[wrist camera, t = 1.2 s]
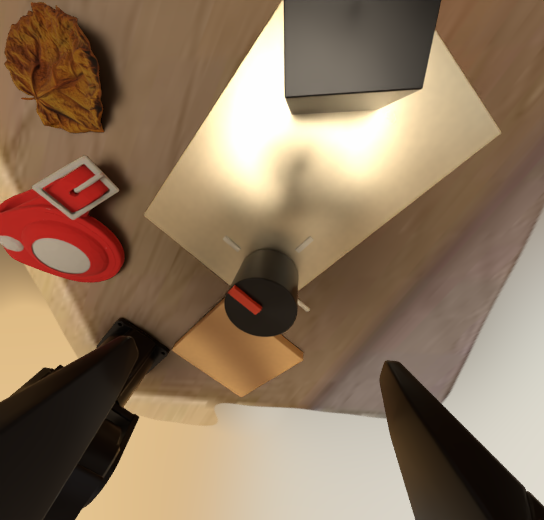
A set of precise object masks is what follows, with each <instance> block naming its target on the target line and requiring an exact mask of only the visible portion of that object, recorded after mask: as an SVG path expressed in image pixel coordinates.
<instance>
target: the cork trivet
mask: <svg viewBox="0 0 544 520" xmlns="http://www.w3.org/2000/svg"><path fill="white" fill-rule="evenodd" d="M224 299H225V298H224ZM224 299H223V300H222V301H221V302H219V303H218V304H217V305H216V306H215V307H214V308H213V309H212V310H211V311H210V312H209V313H208V314H207V315H205V316H204V317H203V318H202V319H201V320H200V321H199V322H198V323H197V324H196V325H195V326H194V327H193V328H191V329H190V330H189V331H188V332H187V333H186V334H185V335H184V336H183V337H182V338H181V339H180V340H179V341H177V342H176V343H175V345H174V346H173V348H172V351H173V352H175V353H176V354H178V355H179V356H181V357H182V358H184V359H185V360H187V361H188V362H190V363H191V364H193V365H194V366H196V367H197V368H198V369H200V370H201V371H203V372H204V373H206V374H207V375H209V376H210V377H212V378H213V379H215V380H216V381H218V382H219V383H221V384H222V385H224V386H225V387H227V388H228V389H230V390H231V391H232V392H234V393H235V394H237V395H238V396H240V397H243V396H245V395H246V394H248V393H250V392H251V391H253V390H255V389H256V388H258V387H260V386H261V385H263V384H264V383H266V382H268V381H269V380H271V379H273V378H274V377H276V376H278V375H279V374H281V373H283V372H284V371H286V370H288V369H289V368H291V367H293V366H294V365H296V364H298V363H299V362H301V361H303V352H302V351H301V350H299V349H298V348H297V347H296V346H294V345H293V344H292V343H291V342H289V341H288V340H287V339H286V338H284V337H283V336H282V335H281V334H279V335H276V336H272V337H258V336H253V335H250V334H247V333H245V332H243V331H241V330H240V329H238V328H237V327H236V326H235V325H234V324H233V323H232V322H231V321H230V320H229V318H228V316H227V314H226V312H225V307H224Z"/></svg>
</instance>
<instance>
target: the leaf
mask: <svg viewBox="0 0 544 520" xmlns="http://www.w3.org/2000/svg"><path fill="white" fill-rule="evenodd" d="M31 7H32V10H33V12H32V11H28V13H27V15H26V16H23V17H21V18H20V20H19V21H18V23H17V24H12V25H11V29H10V31H9V33H8V37H7V42H6V48H5V55H6V58H7V61H6V62H5V66H6V68H7V69H8V70H9V71H10V75H11V78H12V80H13V82H14V84H15V85H16V87H17V88H18V89H19V90H21V91H23V92H24V93H26V94H28V95H32V96H34V98H21V99H25V100H32V99H35V100H36V102H37V109H36V110H37V113H38V115H39V116H40V118H41V120H42V122H43V124H44V125H46V126H51V127H55V128H62V129H64V130H66V131H68V132H70V133H79V132H88V131H93V132H104V131H103V129H102V124H101V122H100V121H101V115H102V112H103V106H102V103H101V100H100V97H101V95H102V94H101V85H100V80H99V70H100V69H99V65H98V61H97V59H96V57H95V56H94V54H93V53H92V51H91V48H90V42H89V40H88V39H87V38H86V36H85V35H84V33H83V32H82V31H81V29H80V28H79V26H78V25H77V18H76V17H74V16H73V17H72V16H70V15H67V14H66V13H64V12H63V11H62V10H61V9H60V8H58V7H57V6H56V10H55V9H53V8H52V7H50V6H47V5H46V4H45V3H44V2H43V3H42V2H38V3H33V2H31Z"/></svg>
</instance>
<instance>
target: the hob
mask: <svg viewBox="0 0 544 520" xmlns="http://www.w3.org/2000/svg"><path fill="white" fill-rule="evenodd" d="M500 134H501V131H500V129H499V128H498V126H497V124H496V123H495V121H494V120H493V118H492V117H491V115H490V114H489V112H488V110H487V109H486V107H485V106H484V104H483V103H482V101H481V100H480V98H479V97H478V95H477V93H476V92H475V90H474V89H473V87H472V86H471V84H470V83H469V81H468V79H467V78H466V76H465V75H464V73H463V72H462V70H461V69H460V67H459V65H458V64H457V62H456V61H455V59H454V58H453V56H452V55H451V53H450V51H449V50H448V48H447V47H446V45H445V44H444V42H443V41H442V39H441V37H440V36H439V34H438V33H437V31H436V30H435V32H434V37H433V41H432V46H431V51H430V56H429V60H428V65H427V70H426V75H425V79H424V84H423V88H422V89H421V90H419V91H417V92H414V93H412V94H410V95H408V96H406V97H404V98H402V99H400V100H398V101H395V102H393V103H391V104H389V105H387V106H385V107H383V108H381V109H379V110H368V111H351V112H333V113H315V114H298V115H291V112H290V110H289V107H288V105H287V102H286V100H285V97H284V0H282V1H281V2H280V4H279V5H278V7H277V8H276V10H275V11H274V13H273V15H272V16H271V18H270V19H269V21H268V22H267V24H266V25H265V27H264V28H263V30H262V32H261V33H260V35H259V36H258V38H257V39H256V41H255V42H254V44H253V46H252V47H251V49H250V50H249V52H248V53H247V55H246V56H245V58H244V60H243V61H242V63H241V64H240V66H239V67H238V69H237V70H236V72H235V73H234V75H233V77H232V78H231V80H230V81H229V83H228V84H227V86H226V87H225V89H224V91H223V92H222V94H221V95H220V97H219V98H218V100H217V101H216V103H215V105H214V106H213V108H212V109H211V111H210V112H209V114H208V115H207V117H206V118H205V120H204V122H203V123H202V125H201V126H200V128H199V129H198V131H197V132H196V134H195V136H194V137H193V139H192V140H191V142H190V143H189V145H188V146H187V148H186V150H185V151H184V153H183V154H182V156H181V157H180V159H179V160H178V162H177V163H176V165H175V167H174V168H173V170H172V171H171V173H170V174H169V176H168V177H167V179H166V181H165V182H164V184H163V185H162V187H161V188H160V190H159V191H158V193H157V195H156V196H155V198H154V199H153V201H152V202H151V204H150V205H149V207H148V208H147V210H146V212H145V213H144V216H145V217H146V218H147V219H148V220H150V221H151V222H152V223H153V224H155V225H156V226H157V227H158V228H159V229H161V230H162V231H163V232H164V233H166V234H167V235H168V236H169V237H171V238H172V239H173V240H174V241H176V242H177V243H178V244H179V245H180V246H182V247H183V248H184V249H185V250H187V251H188V252H189V253H190V254H192V255H193V256H194V257H195V258H196V259H198V260H199V261H200V262H201V263H203V264H204V265H205V266H206V267H208V268H209V269H210V270H211V271H213V272H214V273H215V274H216V275H217V276H219V277H220V278H221V279H222V280H224V281H225V282H226V283H227V284H229V285H231V284H232V282H233V280H234V278H235V276H236V274H237V272H238V270H239V268H240V266H241V264H242V262H243V261H244V259H245V258H246V257H247V256H248V255H250V254H251V253H253V252H255V251H258V250H263V249H271V250H276V251H279V252H281V253H283V254H285V255H287V256H288V257H289V258H290V259H291V260H292V261H293V262H294V264H295V265H296V267H297V270H298V276H299V279H298V291H299V290H300V289H302V288H303V287H304V286H305V285H307V284H308V283H309V282H311V281H312V280H313V279H314V278H316V277H317V276H318V275H320V274H321V273H322V272H323V271H325V270H326V269H327V268H329V267H330V266H331V265H332V264H334V263H335V262H336V261H338V260H339V259H340V258H341V257H343V256H344V255H345V254H347V253H348V252H349V251H350V250H352V249H353V248H354V247H356V246H357V245H358V244H359V243H361V242H362V241H363V240H365V239H366V238H367V237H368V236H370V235H371V234H372V233H374V232H375V231H376V230H377V229H379V228H380V227H381V226H383V225H384V224H385V223H386V222H388V221H389V220H390V219H392V218H393V217H394V216H395V215H397V214H398V213H399V212H401V211H402V210H403V209H404V208H406V207H407V206H408V205H410V204H411V203H412V202H413V201H415V200H416V199H417V198H419V197H420V196H421V195H422V194H424V193H425V192H426V191H428V190H429V189H430V188H431V187H433V186H434V185H435V184H437V183H438V182H439V181H440V180H442V179H443V178H444V177H446V176H447V175H448V174H449V173H451V172H452V171H453V170H455V169H456V168H457V167H458V166H460V165H461V164H462V163H464V162H465V161H466V160H467V159H469V158H470V157H471V156H473V155H474V154H475V153H476V152H478V151H479V150H480V149H482V148H483V147H484V146H485V145H487V144H488V143H489V142H491V141H492V140H493V139H494V138H496V137H497V136H498V135H500ZM298 305H299V306H300V307H302V308H303V309H304V310H305V311H306V312H308V311H309V310H310V308H309V307H308V306H307V305H306V304H304V303H303V302H302V301H301V300H300V299H299V298H298Z"/></svg>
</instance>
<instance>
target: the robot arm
mask: <svg viewBox="0 0 544 520" xmlns="http://www.w3.org/2000/svg"><path fill="white" fill-rule="evenodd" d="M168 353H169V350H168V349H167V348H166V347H164V346H163V345H161V344H160V343H159V342H157V341H156V340H154V339H153V338H151V337H150V336H148V335H147V334H145V333H144V332H142V331H141V330H139V329H138V328H136V327H135V326H133V325H132V324H130V323H129V322H127V321H126V320H124V319H122V318H120V319H118V320H117V321H116V322H115V324H114V325H113V326H112V327H111V329H110V330H109V331H108V333H107V334H106V335H105V336H104V338H103V339H102V340H101V341H100V343H99V344H98V345H97V349H95V350H94V351H92V352H90V353H88V354H86V355H85V356H83V357H81V358H79V359H77V360H76V361H74V362H72V363H70V364H68V365H67V366H65V367H63V366H62V365H59V366H58V367H57V368H56V369H50V368H43V369H42V370H41V371H39V372H38V373H37V374H36V375H35V376H34V377H33V378H31V379H30V380H29V381H28V382H27V383H25V384H24V385H23V386H22V387H21V388H20V389H18V390H17V391H16V392H15V393H13V394H12V395H11V396H10V397H9V398H7V399H5V400H3V401H2V402H0V520H75V519H76V517H77V516H78V514H79V513H80V511H81V509H82V508H84V507H86V506H87V505H88V504H89V503H91V502H92V501H93V499H94V498H95V497H96V496H97V495H98V494H99V492H100V491H101V490H102V489H103V487H104V486H105V484H106V483H107V481H108V480H109V478H110V477H111V475H112V474H113V472H114V470H115V468H116V466H117V464H118V463H119V460H120V458H121V456H122V454H123V451H124V449H125V447H126V445H127V443H128V441H129V439H130V436H131V434H132V432H133V430H134V428H135V425H136V423H137V421H138V419H139V416H137V415H136V414H132V413H130V412H129V411H127V410H126V409H124V408H123V407H124V405H125V404H126V403H127V401H128V400H129V398H130V397H131V395H132V394H133V392H134V391H135V389H136V388H137V387H138V385H139V384H140V382H141V381H142V379H143V378H144V376H145V375H146V374H147V373H148V372H150V371H151V370H152V369H153V368H154V367H155V366H156V365H157V364H158V363H159V362H161V361H162V360H163V359H164V358H165V357H166V356H167V355H168ZM380 387H381V392H382V397H383V402H384V407H385V412H386V417H387V422H388V427H389V432H390V436H391V440H392V443H393V446H394V450H395V453H396V457H397V460H398V463H399V467H400V470H401V473H402V476H403V480H404V483H405V487H406V490H407V493H408V496H409V500H410V503H411V507H412V510H413V513H414V516H415V520H544V506H543V505H542V504H541V503H540V502H539V501H538V500H537V499H536V498H535V497H534V496H533V495H532V494H531V493H530V492H528V491H526V489H525V487H524V486H523V485H522V484H521V483H520V482H519V481H518V480H517V479H516V478H515V477H514V476H513V475H512V474H511V473H510V472H509V471H508V470H507V469H506V468H505V467H504V466H503V465H502V464H501V463H500V462H499V461H498V460H497V459H496V458H495V457H494V456H493V455H492V454H491V453H490V452H489V451H488V450H487V449H486V448H485V447H484V446H483V445H482V444H481V443H480V442H479V441H478V440H477V439H476V438H475V437H474V436H473V435H472V434H471V433H470V432H469V431H468V430H467V429H466V428H465V427H464V426H463V425H462V424H461V423H460V422H459V421H458V420H457V419H456V418H455V417H454V416H453V415H452V414H451V413H450V412H449V411H448V410H447V409H446V408H445V407H444V406H443V405H442V404H441V403H440V402H439V401H438V400H437V399H436V398H435V397H434V396H433V395H432V394H431V393H430V392H429V391H428V390H427V389H426V388H425V387H424V386H423V385H422V384H421V383H420V382H419V381H418V380H417V379H416V378H415V377H414V376H413V375H412V374H411V373H410V372H409V371H408V370H407V369H406V368H405V367H404V366H403V365H402V364H401V363H400V362H397V361H388V360H387V361H385V362H384V365H383V368H382V371H381V375H380Z"/></svg>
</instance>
